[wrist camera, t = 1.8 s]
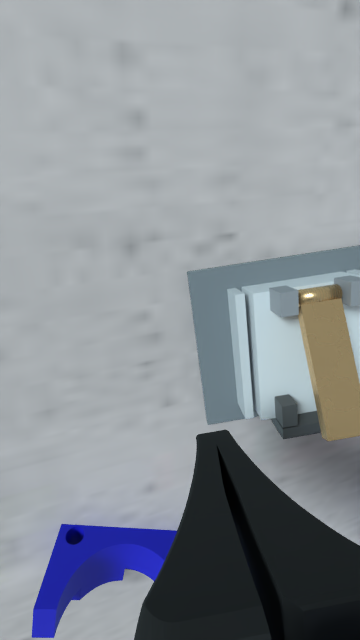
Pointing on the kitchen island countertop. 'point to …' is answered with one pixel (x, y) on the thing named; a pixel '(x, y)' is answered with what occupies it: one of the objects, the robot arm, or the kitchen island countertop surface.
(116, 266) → the kitchen island countertop surface
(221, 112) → the kitchen island countertop surface
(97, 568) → the blue half clamp bracket
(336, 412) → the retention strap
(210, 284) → the heat-sink board
